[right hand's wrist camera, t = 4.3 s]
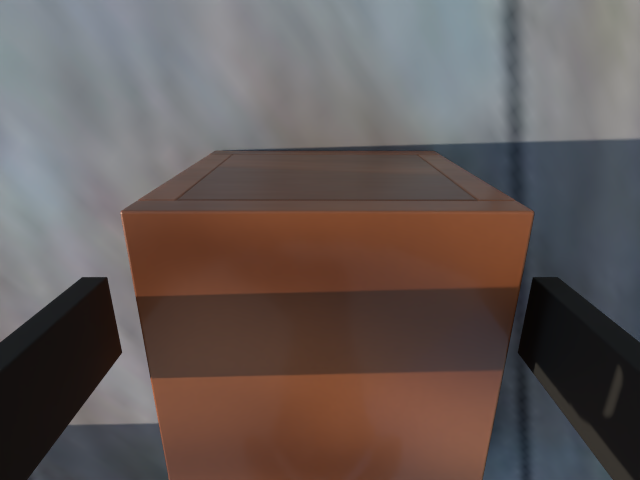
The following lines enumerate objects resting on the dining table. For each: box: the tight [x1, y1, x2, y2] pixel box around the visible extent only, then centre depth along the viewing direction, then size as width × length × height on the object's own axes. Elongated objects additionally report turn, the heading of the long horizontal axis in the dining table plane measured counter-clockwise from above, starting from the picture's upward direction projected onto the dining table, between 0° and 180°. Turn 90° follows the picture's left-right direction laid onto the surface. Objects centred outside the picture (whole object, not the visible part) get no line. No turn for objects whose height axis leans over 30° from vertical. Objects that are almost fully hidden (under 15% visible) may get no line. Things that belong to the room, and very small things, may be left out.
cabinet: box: [121, 151, 534, 480], centre depth 18 cm, size 19×10×10 cm, turn 0°
